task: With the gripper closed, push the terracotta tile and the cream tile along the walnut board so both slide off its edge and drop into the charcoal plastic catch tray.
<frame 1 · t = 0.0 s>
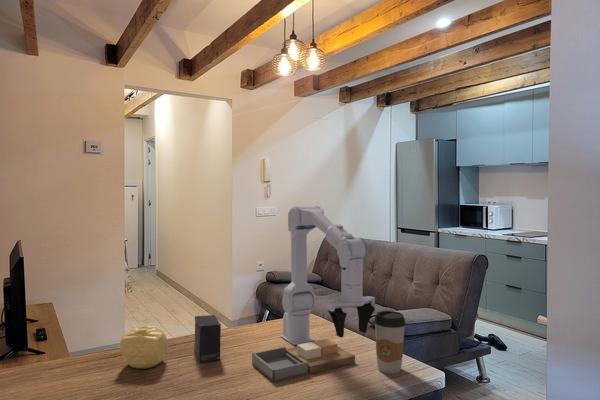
hand: (351, 333, 111), 10 cm above the table, tool pointing down, fingers open, 7 cm apart
board: (319, 359, 119), on the table
terracotta tile: (325, 351, 120), point 2 cm above the table, touching board
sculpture: (145, 364, 115), on the table
small box: (207, 355, 122), on the table
coffee cup: (389, 369, 113), on the table
tray: (279, 368, 112), on the table
cream tile: (309, 354, 117), point 2 cm above the table, touching board
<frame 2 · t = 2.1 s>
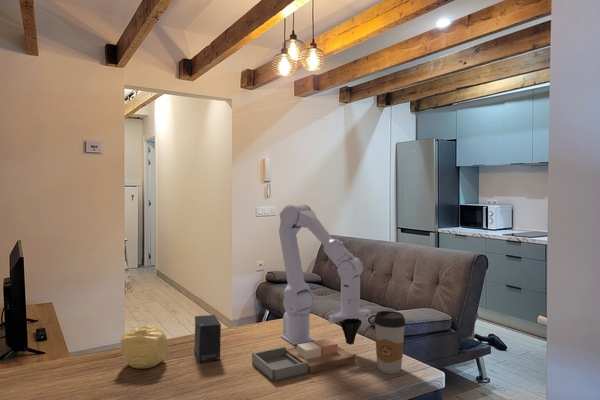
hand: (349, 343, 124), 3 cm above the table, tool pointing down, fingers closed
nothing on the table moved.
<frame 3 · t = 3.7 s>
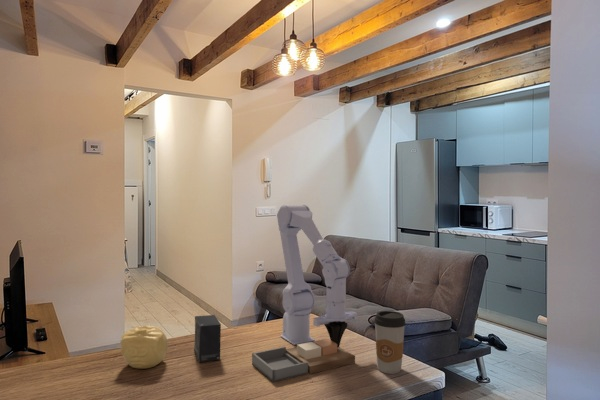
hand: (335, 346, 122), 3 cm above the table, tool pointing down, fingers closed
terracotta tile: (325, 351, 120), point 2 cm above the table, touching board, gripper
everything else where it was.
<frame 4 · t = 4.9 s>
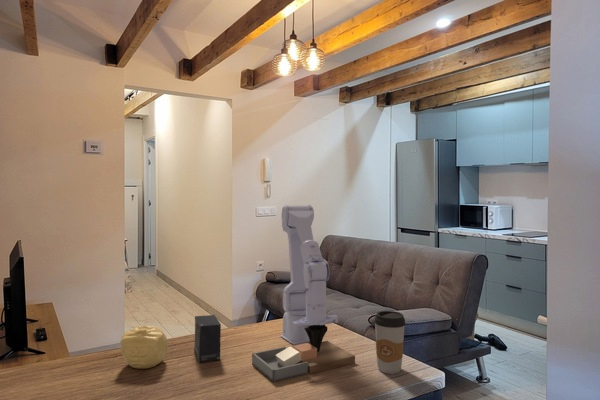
hand: (315, 350, 118), 3 cm above the table, tool pointing down, fingers closed
terracotta tile: (304, 355, 116), point 2 cm above the table, touching gripper
cream tile: (289, 361, 114), point 1 cm above the table, tilted 19°
everything else where it was.
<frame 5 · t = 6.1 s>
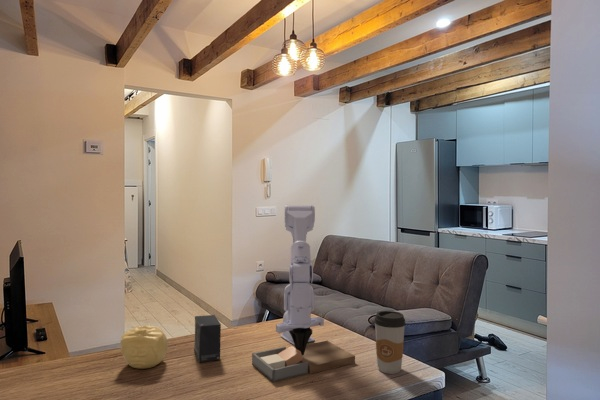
hand: (300, 354, 116), 3 cm above the table, tool pointing down, fingers closed
terracotta tile: (291, 360, 114), point 1 cm above the table, tilted 20°, touching gripper
cream tile: (272, 368, 111), resting on tray
everything else where it was.
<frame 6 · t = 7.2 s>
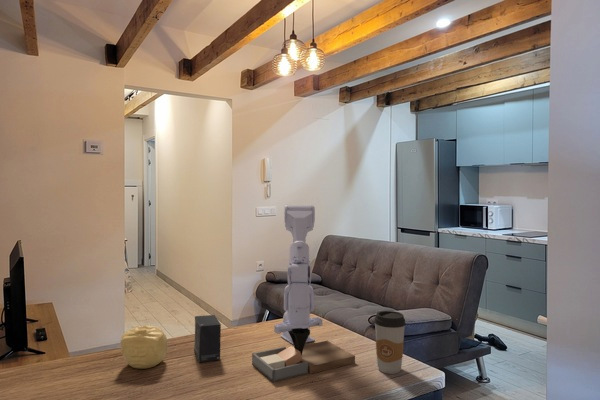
hand: (298, 354, 115), 3 cm above the table, tool pointing down, fingers closed
terracotta tile: (290, 361, 114), point 1 cm above the table, tilted 19°, touching cream tile, gripper
cream tile: (272, 368, 111), point 1 cm above the table, touching terracotta tile, tray
everything else where it was.
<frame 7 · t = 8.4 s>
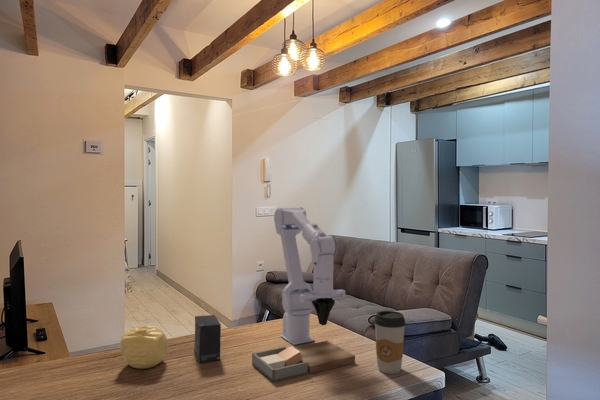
hand: (322, 324, 120), 10 cm above the table, tool pointing down, fingers closed
terracotta tile: (290, 361, 114), point 1 cm above the table, tilted 19°, touching board, cream tile
everything else where it was.
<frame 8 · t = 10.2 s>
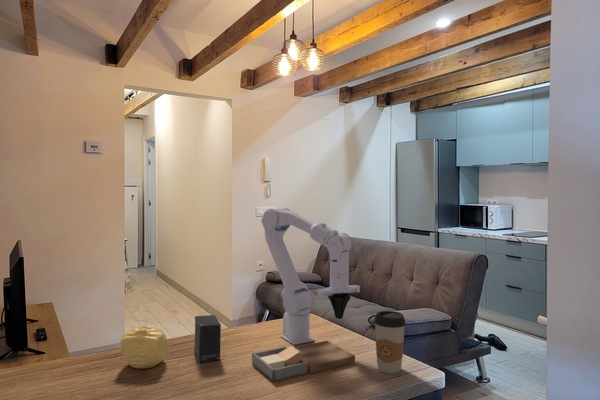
hand: (338, 318, 126), 10 cm above the table, tool pointing down, fingers closed
nothing on the table moved.
at the end: terracotta tile inside the target area on the tray (3.6 cm from its centre), point 1.3 cm above the tray's base; cream tile inside the target area on the tray (2.1 cm from its centre), point 0.5 cm above the tray's base; terracotta tile point 1.3 cm above the table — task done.
